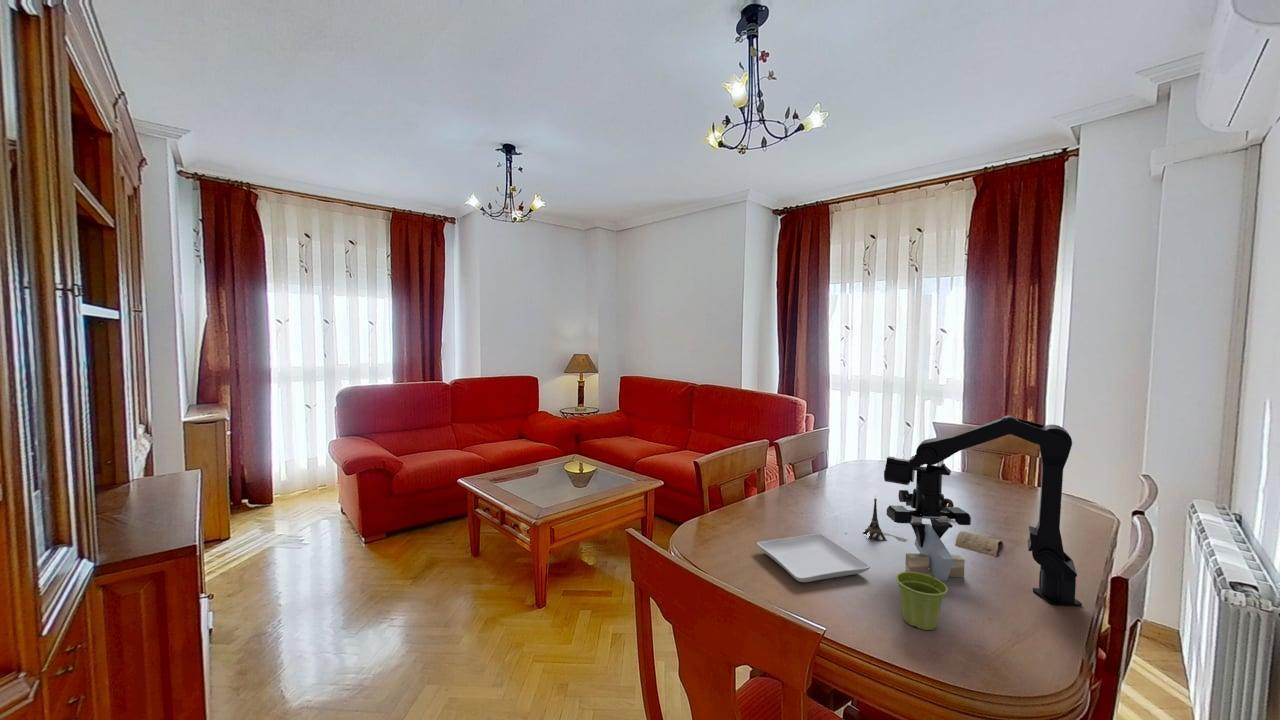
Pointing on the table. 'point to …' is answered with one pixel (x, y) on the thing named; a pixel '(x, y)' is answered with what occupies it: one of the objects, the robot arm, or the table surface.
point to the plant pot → (921, 599)
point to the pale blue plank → (936, 554)
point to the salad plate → (812, 557)
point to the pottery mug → (945, 502)
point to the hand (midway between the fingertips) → (926, 546)
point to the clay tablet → (977, 543)
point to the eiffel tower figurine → (878, 528)
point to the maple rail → (922, 565)
